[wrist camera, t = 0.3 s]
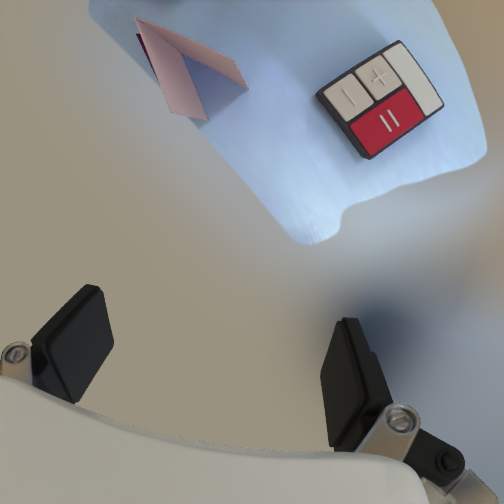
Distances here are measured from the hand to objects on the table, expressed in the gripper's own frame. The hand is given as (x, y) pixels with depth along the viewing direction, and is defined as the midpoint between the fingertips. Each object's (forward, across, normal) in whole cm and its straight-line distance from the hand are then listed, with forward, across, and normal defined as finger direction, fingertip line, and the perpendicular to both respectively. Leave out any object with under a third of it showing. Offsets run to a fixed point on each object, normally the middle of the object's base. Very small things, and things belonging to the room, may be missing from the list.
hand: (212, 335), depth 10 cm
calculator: (+31, -16, -15) cm, 38 cm away
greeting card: (+31, +7, -15) cm, 35 cm away
